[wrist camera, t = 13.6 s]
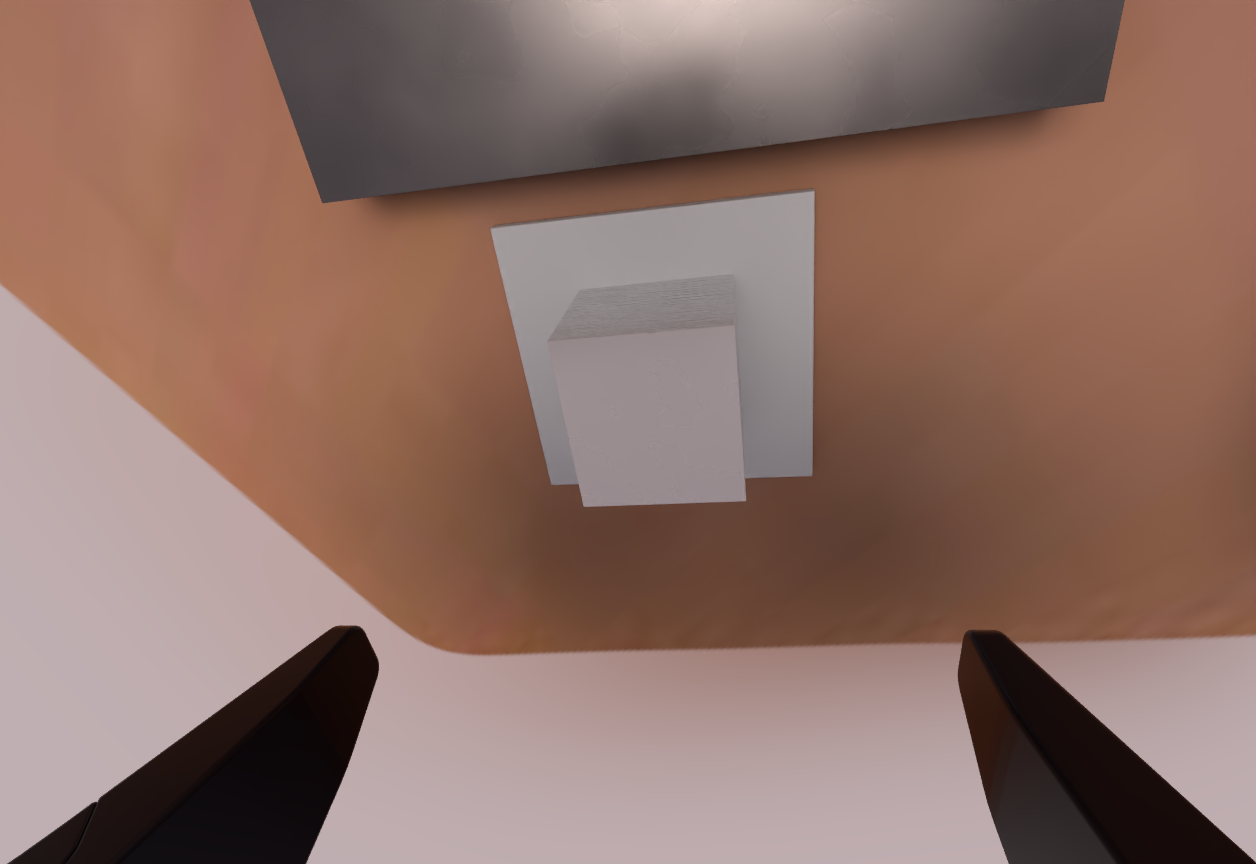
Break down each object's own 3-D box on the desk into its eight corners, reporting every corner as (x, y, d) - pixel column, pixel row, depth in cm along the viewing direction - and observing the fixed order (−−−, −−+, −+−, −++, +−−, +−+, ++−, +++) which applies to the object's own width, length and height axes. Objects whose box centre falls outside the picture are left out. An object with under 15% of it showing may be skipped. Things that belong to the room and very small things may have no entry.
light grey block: (733, 273, 18) (734, 325, 15) (743, 426, 20) (746, 501, 17) (579, 289, 19) (546, 341, 15) (607, 434, 21) (583, 507, 18)
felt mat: (812, 188, 17) (814, 191, 17) (811, 469, 21) (812, 475, 21) (494, 225, 19) (490, 228, 18) (553, 478, 23) (551, 485, 23)
